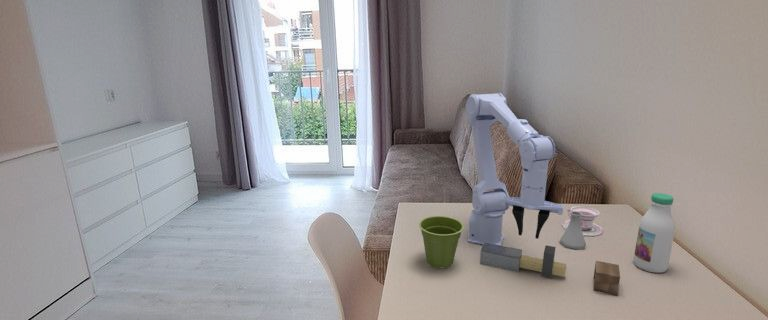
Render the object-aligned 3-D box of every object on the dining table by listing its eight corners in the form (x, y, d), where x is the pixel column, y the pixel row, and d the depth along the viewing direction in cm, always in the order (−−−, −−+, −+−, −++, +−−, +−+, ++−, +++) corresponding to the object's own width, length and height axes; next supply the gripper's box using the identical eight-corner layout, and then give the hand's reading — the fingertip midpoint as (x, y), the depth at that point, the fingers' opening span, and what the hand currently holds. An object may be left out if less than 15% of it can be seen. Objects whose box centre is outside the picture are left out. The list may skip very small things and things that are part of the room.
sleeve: (479, 264, 111) (480, 249, 110) (483, 256, 115) (484, 242, 114) (518, 272, 107) (519, 257, 106) (520, 264, 111) (522, 249, 109)
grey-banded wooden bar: (481, 263, 111) (483, 240, 109) (485, 256, 115) (486, 234, 113) (564, 281, 102) (567, 257, 100) (565, 272, 106) (568, 249, 104)
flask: (588, 251, 118) (593, 218, 115) (562, 248, 119) (565, 216, 116) (582, 239, 125) (586, 209, 122) (557, 237, 126) (560, 207, 123)
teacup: (605, 226, 134) (607, 208, 132) (600, 240, 124) (603, 221, 123) (565, 218, 140) (567, 201, 139) (558, 231, 131) (560, 213, 129)
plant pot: (413, 269, 109) (413, 230, 106) (424, 249, 119) (425, 213, 116) (457, 277, 105) (459, 237, 102) (465, 256, 115) (467, 219, 112)
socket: (593, 290, 99) (596, 272, 97) (593, 278, 104) (595, 260, 103) (617, 295, 97) (620, 277, 95) (615, 283, 102) (618, 264, 100)
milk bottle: (662, 261, 112) (675, 192, 106) (671, 276, 105) (685, 202, 99) (630, 257, 114) (641, 189, 109) (636, 271, 107) (649, 199, 102)
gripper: (500, 185, 101) (496, 236, 105) (564, 194, 95) (558, 247, 99) (505, 177, 107) (502, 225, 111) (566, 185, 101) (560, 235, 105)
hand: (528, 235), depth 105 cm, fingers open, 3 cm apart
